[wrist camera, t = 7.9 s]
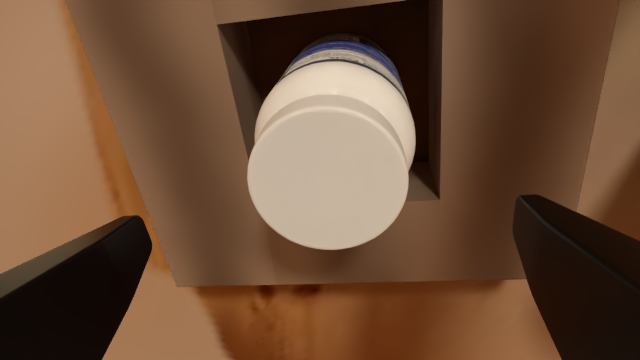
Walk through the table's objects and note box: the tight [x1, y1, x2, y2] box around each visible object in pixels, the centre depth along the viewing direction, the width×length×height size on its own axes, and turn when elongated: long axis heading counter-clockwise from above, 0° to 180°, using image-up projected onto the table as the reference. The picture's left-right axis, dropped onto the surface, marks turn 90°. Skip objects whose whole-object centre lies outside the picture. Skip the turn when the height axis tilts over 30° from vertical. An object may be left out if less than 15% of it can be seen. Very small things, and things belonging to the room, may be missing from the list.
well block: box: [65, 0, 620, 287], centre depth 18 cm, size 20×18×4 cm
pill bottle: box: [247, 33, 416, 250], centre depth 16 cm, size 6×6×10 cm
